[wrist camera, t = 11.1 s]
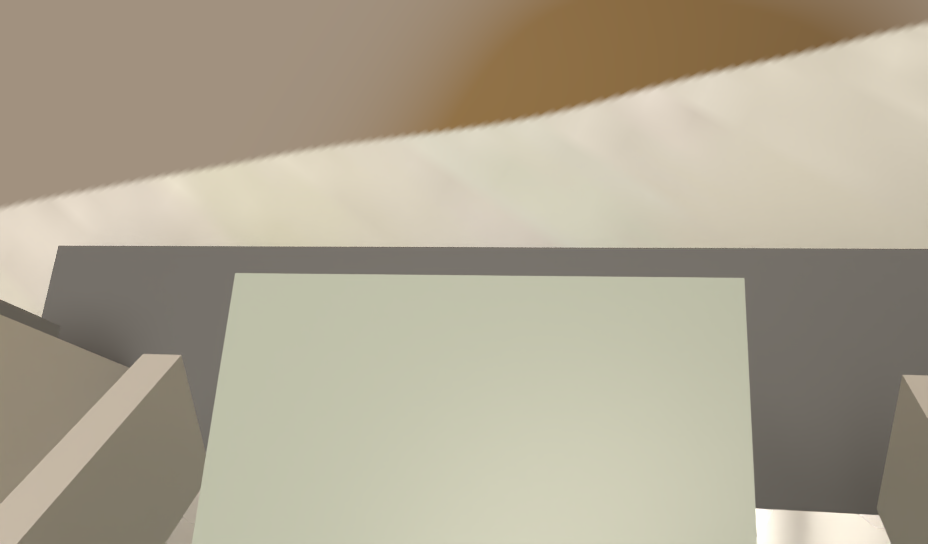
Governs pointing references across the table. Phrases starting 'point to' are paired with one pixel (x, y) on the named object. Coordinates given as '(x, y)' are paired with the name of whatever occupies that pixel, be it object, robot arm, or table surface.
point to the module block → (481, 412)
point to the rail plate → (764, 270)
